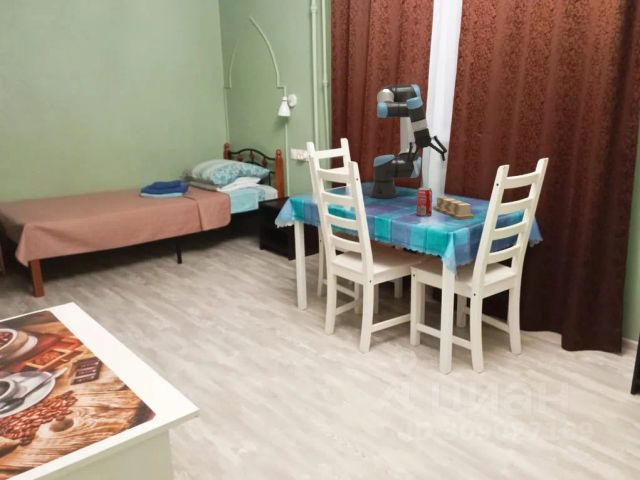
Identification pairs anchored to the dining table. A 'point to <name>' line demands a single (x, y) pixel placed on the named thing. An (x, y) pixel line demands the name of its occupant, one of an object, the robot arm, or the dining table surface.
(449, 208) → the ridge
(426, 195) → the soda can
